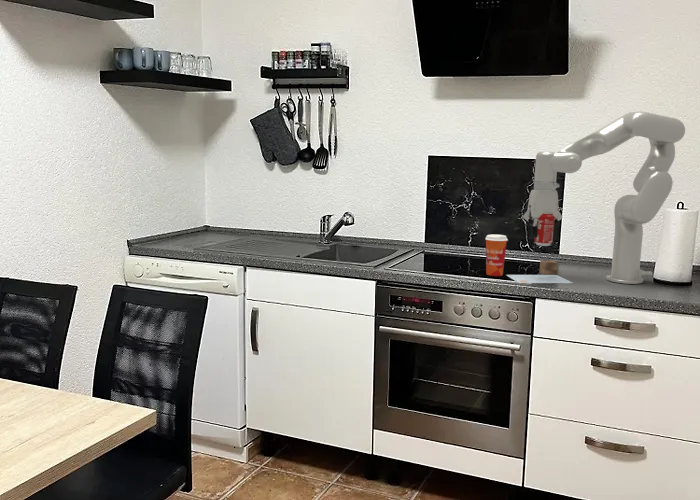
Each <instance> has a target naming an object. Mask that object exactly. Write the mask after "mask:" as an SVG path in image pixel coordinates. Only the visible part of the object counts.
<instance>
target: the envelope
mask: <svg viewBox="0 0 700 500" xmlns="http://www.w3.org/2000/svg"><path fill="white" fill-rule="evenodd" d="M505 276H507V277H508V278H509V279H511V280H514V281H515V282H517V283H518V284H573V282H572V281H570V280H568V279H566V278H564V277H561V276H560V275H558V274H557V275H544V274H505Z"/></svg>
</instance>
